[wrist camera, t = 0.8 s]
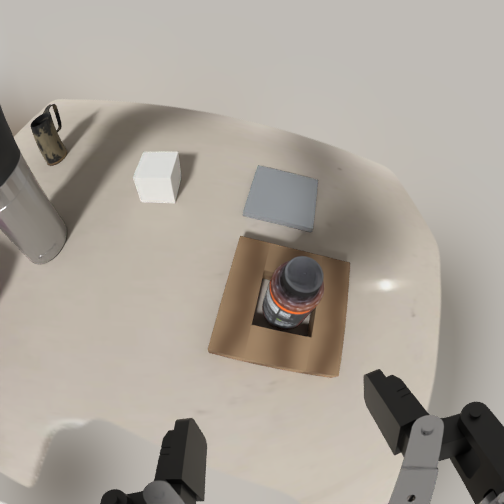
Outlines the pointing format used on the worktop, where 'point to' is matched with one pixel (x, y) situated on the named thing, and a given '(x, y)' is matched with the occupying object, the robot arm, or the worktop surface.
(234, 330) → the socket block
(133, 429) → the worktop surface
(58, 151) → the mug
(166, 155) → the white cube
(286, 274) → the supplement bottle
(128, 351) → the worktop surface
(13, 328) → the worktop surface
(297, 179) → the slate pad
